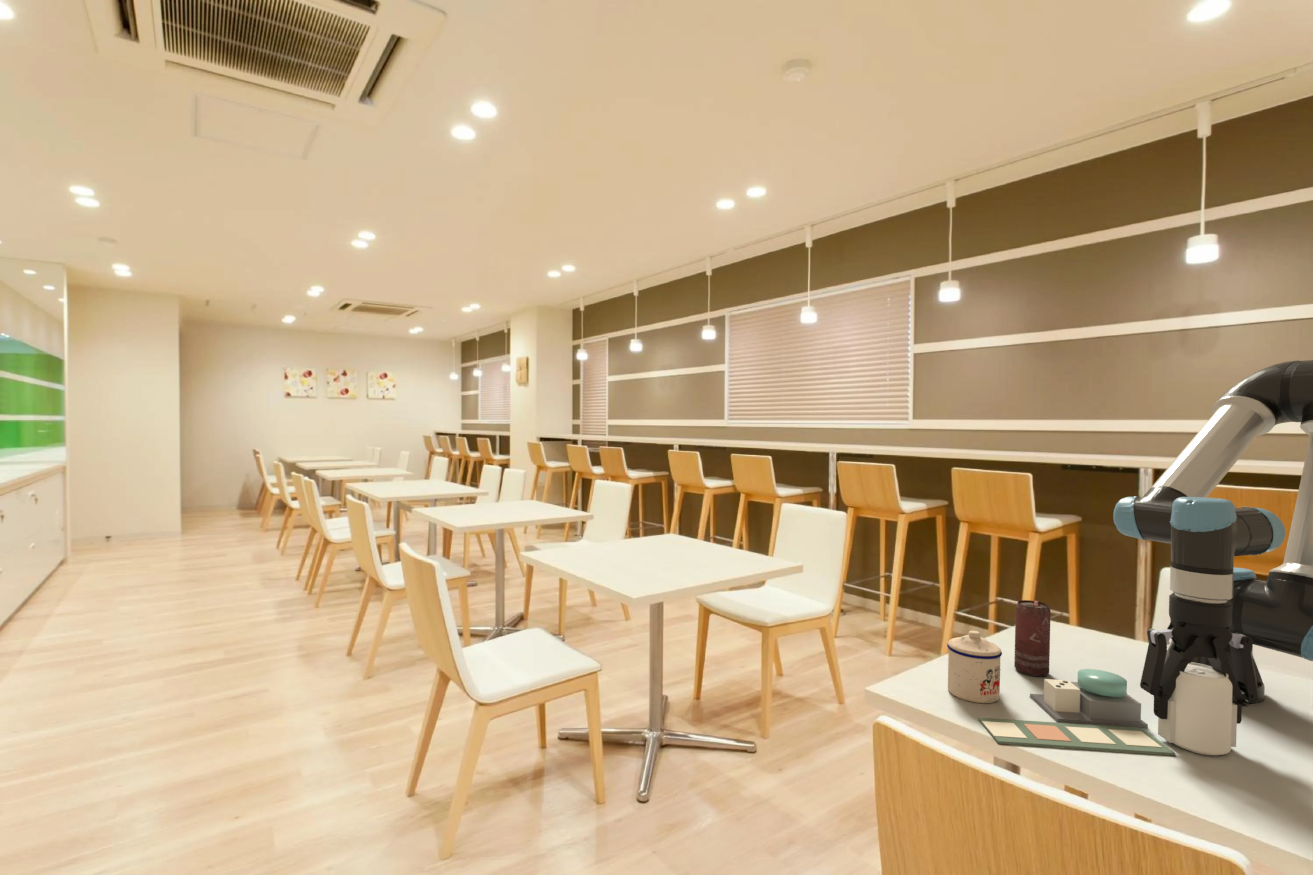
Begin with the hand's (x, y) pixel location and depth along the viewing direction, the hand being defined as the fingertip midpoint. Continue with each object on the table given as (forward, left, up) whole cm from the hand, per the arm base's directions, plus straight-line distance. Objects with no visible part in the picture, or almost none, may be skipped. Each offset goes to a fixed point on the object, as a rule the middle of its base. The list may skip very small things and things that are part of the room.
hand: (1196, 740), depth 99 cm
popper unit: (+11, -10, -1) cm, 15 cm away
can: (+12, -28, -1) cm, 30 cm away
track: (+18, 0, -1) cm, 18 cm away
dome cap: (+9, -10, +1) cm, 13 cm away
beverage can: (0, 0, -1) cm, 1 cm away
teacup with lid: (+27, -16, -1) cm, 31 cm away
